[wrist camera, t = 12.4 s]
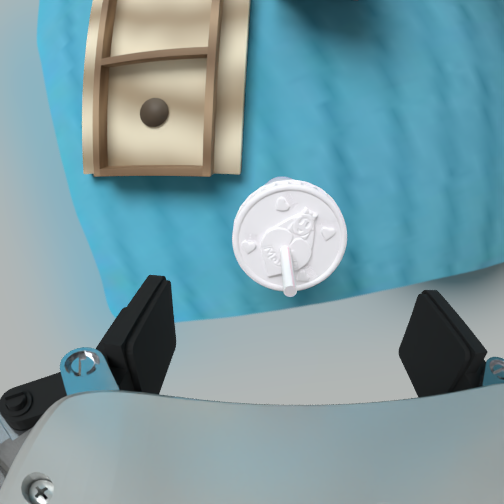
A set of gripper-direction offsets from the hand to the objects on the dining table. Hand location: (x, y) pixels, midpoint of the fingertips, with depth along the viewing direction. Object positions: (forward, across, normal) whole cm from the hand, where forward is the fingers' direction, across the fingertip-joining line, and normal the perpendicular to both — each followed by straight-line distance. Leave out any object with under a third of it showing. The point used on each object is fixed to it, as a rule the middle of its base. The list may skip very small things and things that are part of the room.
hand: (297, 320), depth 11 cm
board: (+16, +10, -17) cm, 25 cm away
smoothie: (+16, 0, -1) cm, 16 cm away
